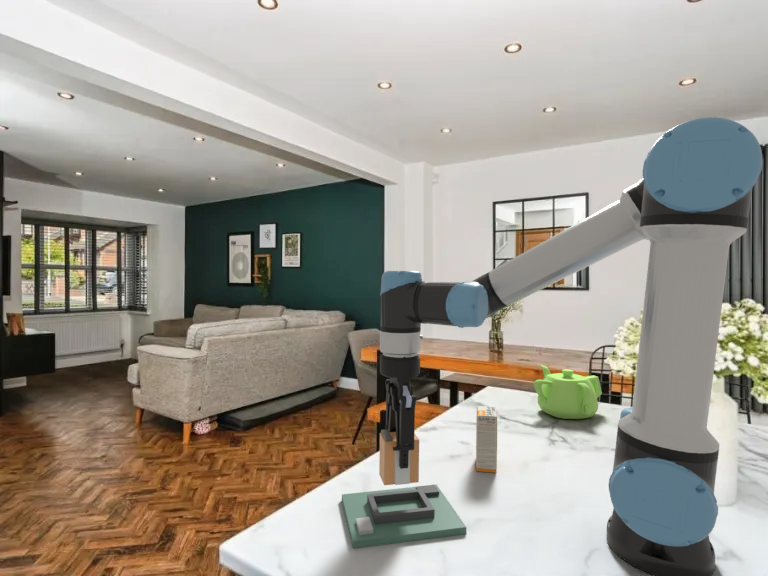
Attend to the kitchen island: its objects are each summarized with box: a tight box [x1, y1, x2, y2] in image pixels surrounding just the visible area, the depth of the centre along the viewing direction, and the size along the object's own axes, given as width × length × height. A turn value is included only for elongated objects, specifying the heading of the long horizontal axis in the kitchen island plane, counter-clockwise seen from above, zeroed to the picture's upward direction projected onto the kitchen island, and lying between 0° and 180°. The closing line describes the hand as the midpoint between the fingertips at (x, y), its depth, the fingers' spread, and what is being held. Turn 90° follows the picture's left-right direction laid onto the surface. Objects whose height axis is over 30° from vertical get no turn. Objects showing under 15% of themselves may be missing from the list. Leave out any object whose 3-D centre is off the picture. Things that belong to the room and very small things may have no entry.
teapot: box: [533, 364, 603, 420], centre depth 145 cm, size 19×20×14 cm
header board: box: [341, 484, 467, 549], centre depth 83 cm, size 16×20×3 cm
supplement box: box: [475, 405, 498, 474], centre depth 105 cm, size 8×5×13 cm, turn 168°
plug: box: [378, 428, 420, 486], centre depth 83 cm, size 4×6×9 cm
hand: (398, 476), depth 83 cm, fingers closed on plug, 4 cm apart
